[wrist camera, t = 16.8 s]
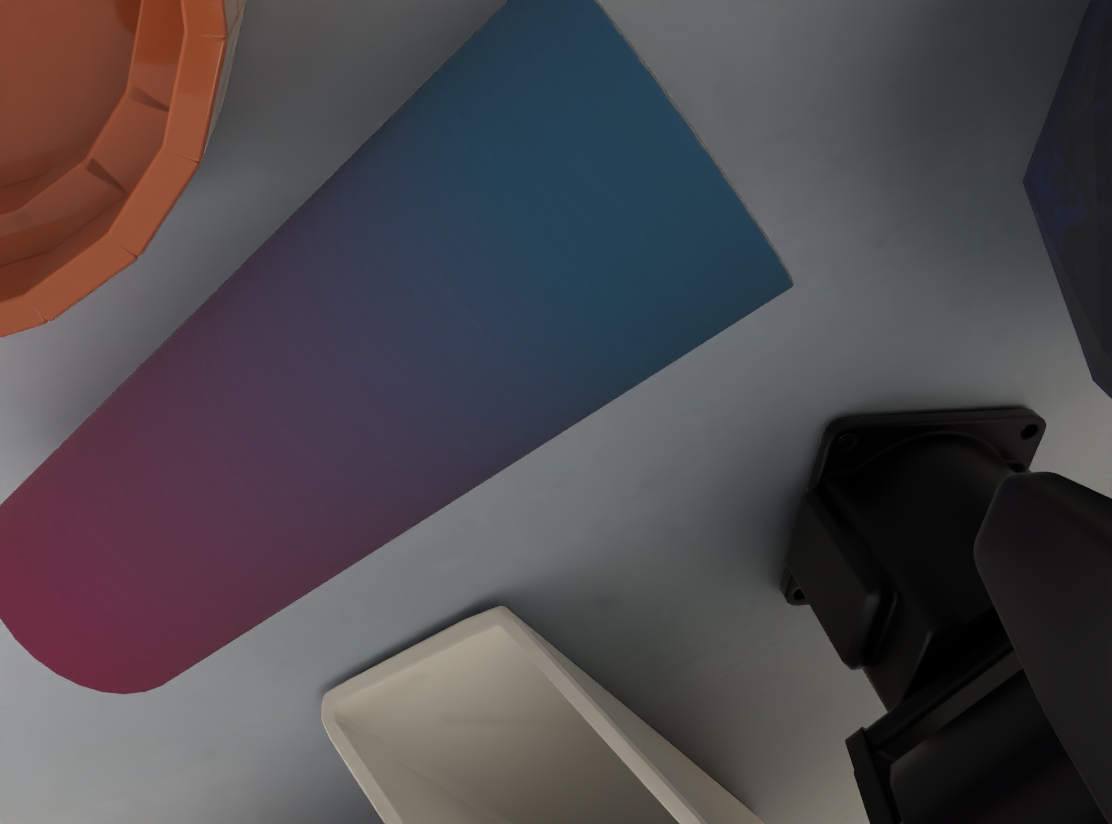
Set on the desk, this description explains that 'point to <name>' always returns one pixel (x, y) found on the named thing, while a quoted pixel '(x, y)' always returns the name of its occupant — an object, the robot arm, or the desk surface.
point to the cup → (387, 350)
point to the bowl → (99, 136)
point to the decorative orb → (1081, 188)
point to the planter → (509, 739)
